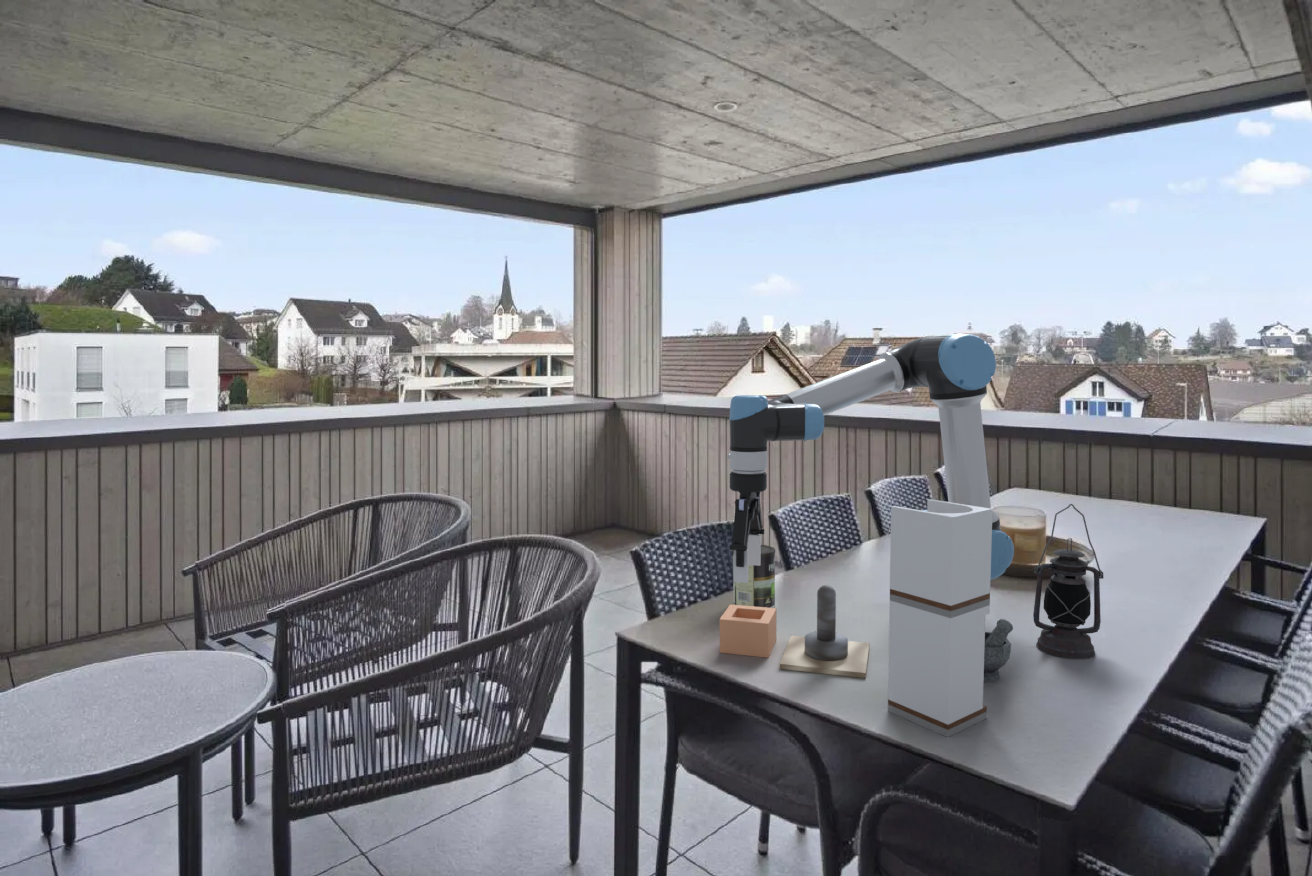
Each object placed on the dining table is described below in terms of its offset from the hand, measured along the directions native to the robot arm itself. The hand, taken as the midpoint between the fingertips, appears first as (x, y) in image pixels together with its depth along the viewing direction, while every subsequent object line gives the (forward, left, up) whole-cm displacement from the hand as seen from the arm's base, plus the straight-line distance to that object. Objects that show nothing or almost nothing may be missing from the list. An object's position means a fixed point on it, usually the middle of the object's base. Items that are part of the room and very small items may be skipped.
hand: (747, 573), depth 158 cm
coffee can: (+4, -27, -16) cm, 32 cm away
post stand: (-16, +2, -16) cm, 23 cm away
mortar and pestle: (-45, +3, -16) cm, 48 cm away
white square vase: (-36, +22, -16) cm, 45 cm away
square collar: (0, 0, -16) cm, 16 cm away
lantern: (-62, -16, -16) cm, 66 cm away
